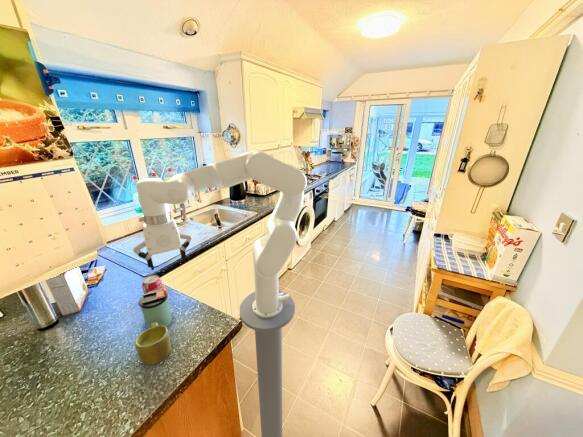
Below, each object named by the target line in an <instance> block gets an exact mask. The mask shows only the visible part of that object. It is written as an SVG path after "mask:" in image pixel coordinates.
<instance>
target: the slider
mask: <svg viewBox="0 0 583 437" xmlns="http://www.w3.org/2000/svg"><path fill="white" fill-rule="evenodd" d="M167 294H168V290H167V286H164V285H163V291H160V292H156V299H157V298H160V297H164V296H167Z"/></svg>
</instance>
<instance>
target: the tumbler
mask: <svg viewBox="0 0 583 437" xmlns="http://www.w3.org/2000/svg"><path fill="white" fill-rule="evenodd" d="M160 291H163V290H161V289H158V290H153V291H150V292H148V293H146V294H144V293H143V295H141V296H140V297H139V299H138V305H139V307H140V309H141V312H142V316H143V319H144V323H145V327H146V330H147V329H149V328H151V327H150V326H151V324H152V323H155V322H157V323H158V325H162V326H165V327H166V328H168V327H169V326H170V325H171V323H172V322H173V317H172V316H173V315H172V312H171V307H170V302H169V298H168V297H169V296H168V293H167V296H164V297H160V298H157V299H156V292H160Z"/></svg>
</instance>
